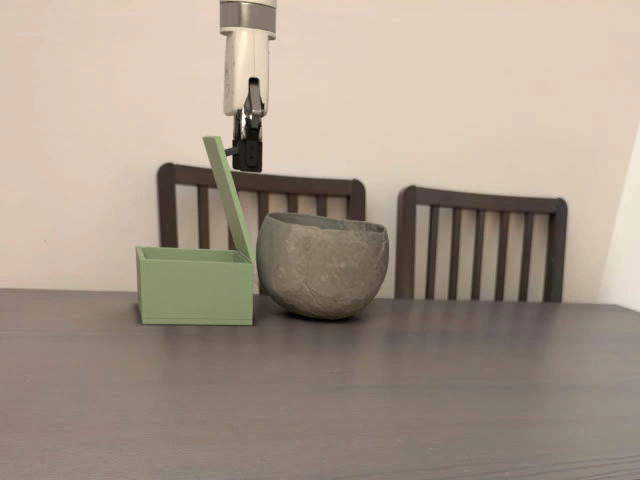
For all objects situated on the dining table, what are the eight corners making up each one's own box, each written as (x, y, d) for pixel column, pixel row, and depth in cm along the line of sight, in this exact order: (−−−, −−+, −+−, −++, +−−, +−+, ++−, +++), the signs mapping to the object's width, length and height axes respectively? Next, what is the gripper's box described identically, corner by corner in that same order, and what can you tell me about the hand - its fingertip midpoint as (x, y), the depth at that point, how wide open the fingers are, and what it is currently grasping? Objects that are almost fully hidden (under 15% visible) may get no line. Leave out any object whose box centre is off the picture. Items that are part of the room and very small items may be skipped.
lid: (214, 137, 96) (254, 126, 97) (201, 136, 107) (238, 127, 108) (251, 261, 104) (288, 250, 104) (235, 248, 115) (269, 238, 116)
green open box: (142, 324, 102) (139, 259, 99) (138, 304, 114) (135, 246, 111) (252, 325, 107) (253, 263, 104) (237, 306, 119) (238, 250, 115)
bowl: (251, 327, 106) (253, 218, 100) (256, 300, 125) (258, 207, 119) (390, 335, 109) (401, 229, 102) (375, 308, 127) (383, 217, 121)
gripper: (211, 28, 103) (212, 166, 111) (229, 11, 89) (229, 172, 96) (263, 34, 106) (261, 170, 113) (289, 19, 91) (285, 175, 99)
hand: (246, 169), depth 105 cm, fingers closed on lid, 5 cm apart
